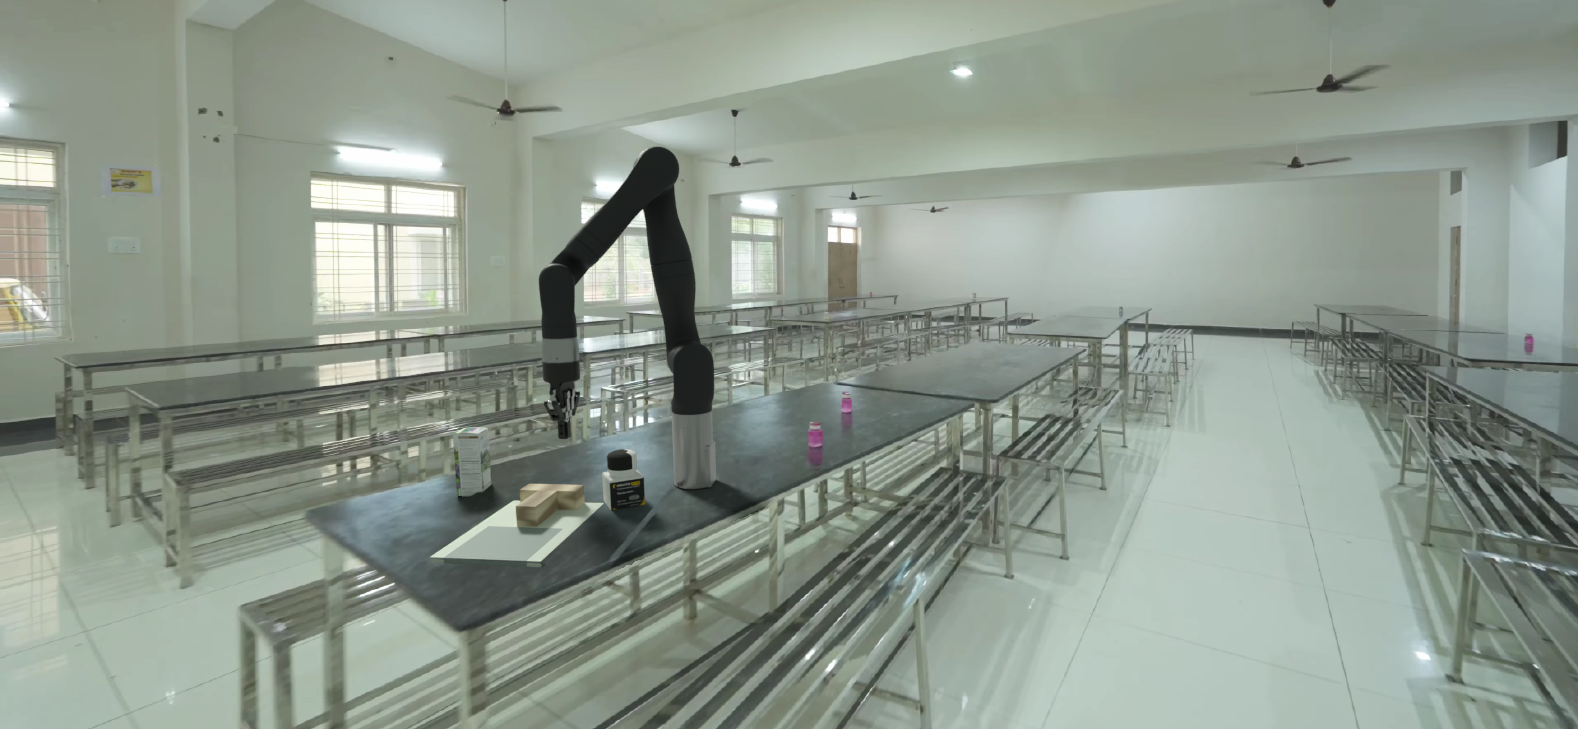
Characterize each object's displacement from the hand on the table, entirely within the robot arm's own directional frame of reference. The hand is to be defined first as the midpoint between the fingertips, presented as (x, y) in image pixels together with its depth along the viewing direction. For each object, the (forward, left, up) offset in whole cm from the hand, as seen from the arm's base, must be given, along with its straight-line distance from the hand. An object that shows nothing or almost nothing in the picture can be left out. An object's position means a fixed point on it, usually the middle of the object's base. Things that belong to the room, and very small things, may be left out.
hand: (564, 438), depth 144 cm
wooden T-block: (0, +12, -13) cm, 17 cm away
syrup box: (+23, -2, -14) cm, 27 cm away
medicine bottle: (-14, +4, -14) cm, 20 cm away
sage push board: (0, +19, -14) cm, 23 cm away
